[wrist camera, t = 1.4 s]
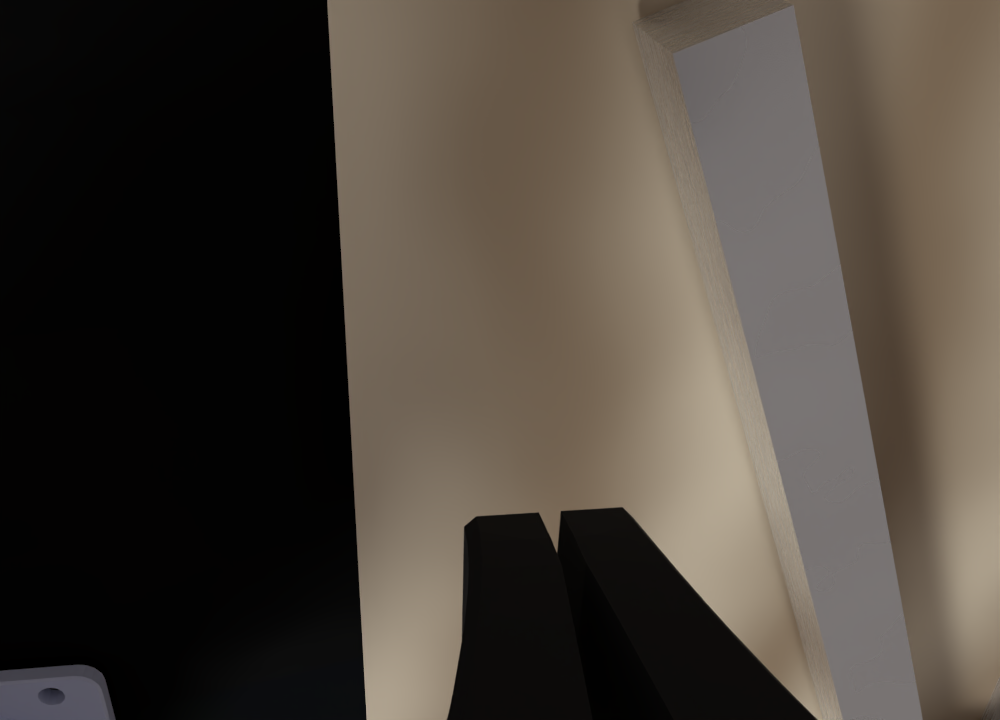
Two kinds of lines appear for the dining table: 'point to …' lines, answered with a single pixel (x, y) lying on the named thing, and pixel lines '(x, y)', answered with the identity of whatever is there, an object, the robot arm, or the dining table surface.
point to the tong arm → (785, 332)
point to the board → (652, 317)
